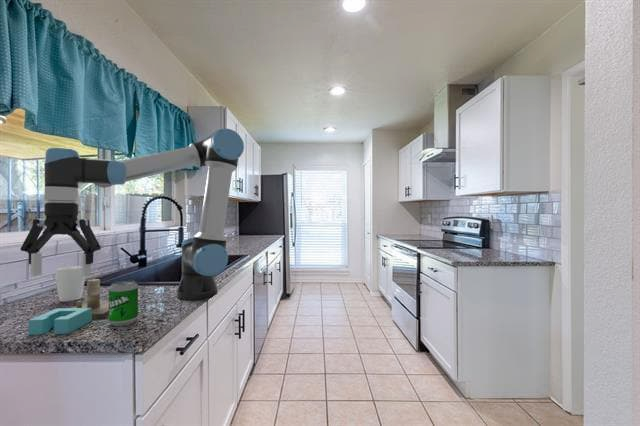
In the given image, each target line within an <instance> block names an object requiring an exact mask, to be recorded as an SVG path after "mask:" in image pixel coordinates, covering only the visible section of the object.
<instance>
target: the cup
mask: <svg viewBox="0 0 640 426" xmlns="http://www.w3.org/2000/svg"><path fill="white" fill-rule="evenodd" d="M81 274H82V265H70V266H61V267H58V268H55V277H54V278H55V284H56V290H57V295H58V300H59V301H60V302H62V303H63V302H64V303H65V302H75V301H79V300H81V299H82V297H83V294H84V288H85V280H86V276H81Z"/></svg>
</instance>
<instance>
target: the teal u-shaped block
mask: <svg viewBox="0 0 640 426" xmlns="http://www.w3.org/2000/svg"><path fill="white" fill-rule="evenodd" d="M92 321H93V319H92V308H72V307H67V308H65V307H62V308H60V307H59V308H58V307H57V308H55V309H52V310H50V311H47V312H45V313H43V314H40V315H38V316H35V317H33V318H30V319H29V320H28V335H29V336H30V335H31V336H32V335H33V336H34V335H44V334H46V333H48V332H50V330H51V329H53V333H54V334H53V335H66V334H67V335H68V334H70V333H72V332H74V331H76V330H77V329H79V328H81V327H83V326H85V325H87V324H89V323H90V322H92Z"/></svg>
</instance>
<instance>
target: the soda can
mask: <svg viewBox="0 0 640 426" xmlns="http://www.w3.org/2000/svg"><path fill="white" fill-rule="evenodd" d="M107 299H108V300H107V301H108V316H107V317H108V321H107V322H108V324H111V325H112V326H114V327H123V326H128V325H131V324H133V323H135V321H136V320H138V317H139V284H138V283H136V282H135V280H123V281H116V282H114V283H111V285H110V286H109V287H108V298H107Z"/></svg>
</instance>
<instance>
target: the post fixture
mask: <svg viewBox="0 0 640 426" xmlns="http://www.w3.org/2000/svg"><path fill="white" fill-rule="evenodd" d="M86 282H87V284H86V285H87V286H86V287H87V288H86V289H87V291H86V299H87V301H82V300H76V304H75V305H74V306H72V307H71V308H92V320H93V319H104V318H106V317H108V300H103V301H102V300H101V279H99V278H95V279H94V278H93V279H88V280H87V281H86Z"/></svg>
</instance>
